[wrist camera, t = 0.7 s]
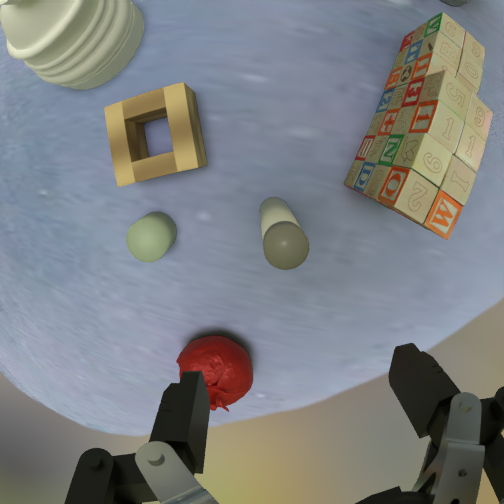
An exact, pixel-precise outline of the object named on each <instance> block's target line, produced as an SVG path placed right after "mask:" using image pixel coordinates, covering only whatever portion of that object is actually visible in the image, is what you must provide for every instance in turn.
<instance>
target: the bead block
mask: <svg viewBox="0 0 504 504" xmlns="http://www.w3.org/2000/svg"><path fill="white" fill-rule="evenodd" d="M104 109H105V117H106V124H107V131H108V137H109V143H110V149H111V155H112V160H113V165H114V170H115V175H116V180H117V185H118V187H120V186H124V185H128V184H131V183H135V182H139V181H143V180H146V179H150V178H154V177H159V176H163V175H167V174H171V173H176V172H180V171H185V170H189V169H194V168H199V167H202V166H205V165H207V160H206V154H205V149H204V143H203V138H202V132H201V126H200V121H199V115H198V109H197V103H196V97H195V92H194V91H193V90H192V89H190V88H189V87H188V86H187V85H186V84H185V83H184V82H182V83H178V84H174V85H171V86H167V87H164V88H160V89H157V90H153V91H150V92H147V93H144V94H141V95H138V96H135V97H132V98H129V99H126V100H123V101H121V102H118V103H115V104H113V105H110V106H107V107H105V108H104ZM164 117H168V122H169V128H170V133H171V139H172V145H173V150H174V151H173V152H169V153H165V154H161V155H157V156H153V157H149V153H148V148H147V142H146V137H145V131H144V125H143V123H147V122H150V121H154V120H157V119H161V118H164Z"/></svg>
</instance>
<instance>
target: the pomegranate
mask: <svg viewBox="0 0 504 504" xmlns="http://www.w3.org/2000/svg"><path fill="white" fill-rule="evenodd" d="M177 363H178V365H179V367H180V373H179V375H180V379H181V375H182V372H183V371H202V372H203V375H204V379H205V383H206V387H207V391H208V395H209V400H210V409H211V410H213V411H215V410H216V409H217V407H222V408H223V409H225V410H227V411H228V412H229V410H228V408H227V407H225V406H227V405H230V404H233V403H235V402H236V401H237V400H239V399H240V398H242V397H243V396H244V395H245V394H246V393H247V392H248V391H249V390H250V388H251V386H252V383H253V368H252V364H251V360H250V358H249V355H248V353H247V351H246V350H245V349H244V348H243V347H241V346H240V345H238V344H237V343H235V342H234V341H233V340H231V339H228V338H226V337H224V336H218V335H217V336H216V335H215V336H214V335H212V336H207V337H203V338H199V339H196V340H194V341H192V342H190V343H189V344H188V345H187V346H186V347H185V348H184V349H183V351H182V352H181V353H180V355H179V357H178V358H177Z"/></svg>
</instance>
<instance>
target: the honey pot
mask: <svg viewBox="0 0 504 504" xmlns="http://www.w3.org/2000/svg"><path fill="white" fill-rule="evenodd" d="M0 4H2V6H1V10H0V21H1V25H2V28H3V31H4V33H5V35H6V37H7V48H8V51H9V53H10V55H11V56H13V57H14V58H15V59H20V60H24V62H25V64H26V65H27V66H29V67H30V68H31V69H33V70H34V71H35V72H36V73H37V75H38V76H39V77H40V78H42V79H43V80H44V81H46V82H49V83H52V84H57V85H61V86H65V87H69V88H73V89H77V90H83V89H91V88H94V87H97V86H100V85H102V84H104V83H105V82H107V81H109V80H110V79H112V78H113V77H115V76H116V75H117V74H118V73H119V72H120V71H121V70H123V69H124V68H125V66H126V65H127V64H128V63H129V61H130V60H131V59H132V58H133V56H134V55H135V53H136V51H137V49H138V48H139V46H140V43H141V40H142V37H143V34H144V19H143V16H142V13H141V11H140V10H139V9H138V8H137V7H136V6H135V5H134V4H133V2H132V1H131V0H0Z"/></svg>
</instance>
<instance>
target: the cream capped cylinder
mask: <svg viewBox="0 0 504 504" xmlns="http://www.w3.org/2000/svg"><path fill="white" fill-rule="evenodd" d="M260 219H261V228H262V238H263V248H264V254H265V257H266V259H267V261H268V262H269V263H270V264H271V265H272V266H274V267H276V268H278V269H282V270H289V269H293V268H296V267H298V266H299V265H301V264H302V263H303V262H304V261H305V259H306V257H307V255H308V252H309V242H308V239H307V237H306V236H305V234H304V232H303V231H302V229H301V227H300V226H299V224H298V222H297V221H296V219H295V217H294V216H293V214H292V213H291V211H290V209H289V208H288V206H287V204H286V203H285V202H284V201H283V200H282V199H280V198H278V197H271V198H268V199H266V200H265V201H264V202H263V203H262V204H261V207H260Z"/></svg>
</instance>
